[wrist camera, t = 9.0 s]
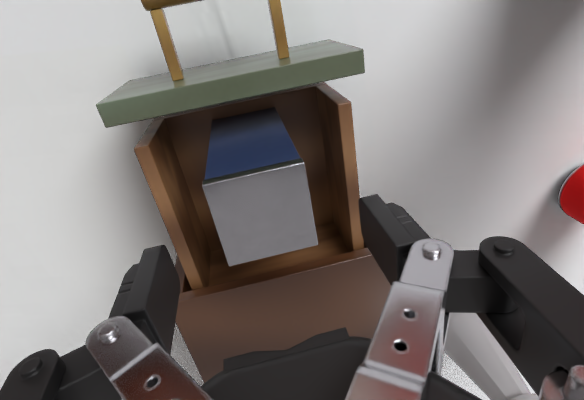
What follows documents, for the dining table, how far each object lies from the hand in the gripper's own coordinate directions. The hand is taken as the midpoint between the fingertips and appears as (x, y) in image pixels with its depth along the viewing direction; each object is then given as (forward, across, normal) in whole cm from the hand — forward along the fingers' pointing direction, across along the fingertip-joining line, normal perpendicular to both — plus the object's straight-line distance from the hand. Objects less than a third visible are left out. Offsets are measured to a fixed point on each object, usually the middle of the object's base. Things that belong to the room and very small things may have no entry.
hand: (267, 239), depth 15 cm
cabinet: (+15, 0, +15) cm, 21 cm away
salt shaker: (+15, -18, +26) cm, 35 cm away
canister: (+12, 0, 0) cm, 12 cm away
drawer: (+14, 0, -1) cm, 14 cm away
